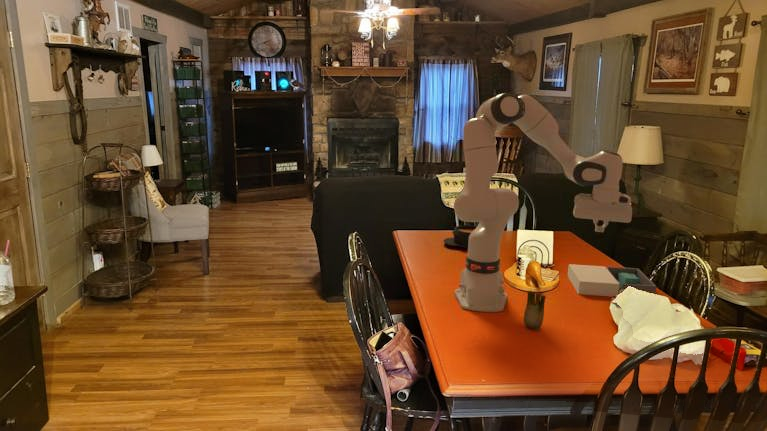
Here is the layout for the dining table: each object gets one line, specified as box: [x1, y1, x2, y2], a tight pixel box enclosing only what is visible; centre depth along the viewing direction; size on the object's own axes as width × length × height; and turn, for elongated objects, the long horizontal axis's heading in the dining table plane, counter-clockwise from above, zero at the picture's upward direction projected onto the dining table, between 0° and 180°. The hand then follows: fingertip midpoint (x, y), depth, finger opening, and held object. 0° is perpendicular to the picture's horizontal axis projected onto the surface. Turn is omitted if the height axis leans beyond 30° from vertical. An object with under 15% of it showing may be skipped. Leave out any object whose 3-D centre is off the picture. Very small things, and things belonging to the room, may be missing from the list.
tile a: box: [619, 273, 633, 288], centre depth 202 cm, size 6×6×2 cm
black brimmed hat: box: [443, 224, 478, 250], centre depth 258 cm, size 25×19×8 cm
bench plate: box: [567, 263, 620, 297], centre depth 209 cm, size 20×14×5 cm
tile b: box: [617, 273, 639, 284], centre depth 212 cm, size 6×6×2 cm
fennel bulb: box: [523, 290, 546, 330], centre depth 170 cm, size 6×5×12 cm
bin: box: [607, 266, 657, 295], centre depth 207 cm, size 20×12×5 cm, turn 173°
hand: (599, 231), depth 203 cm, fingers closed
